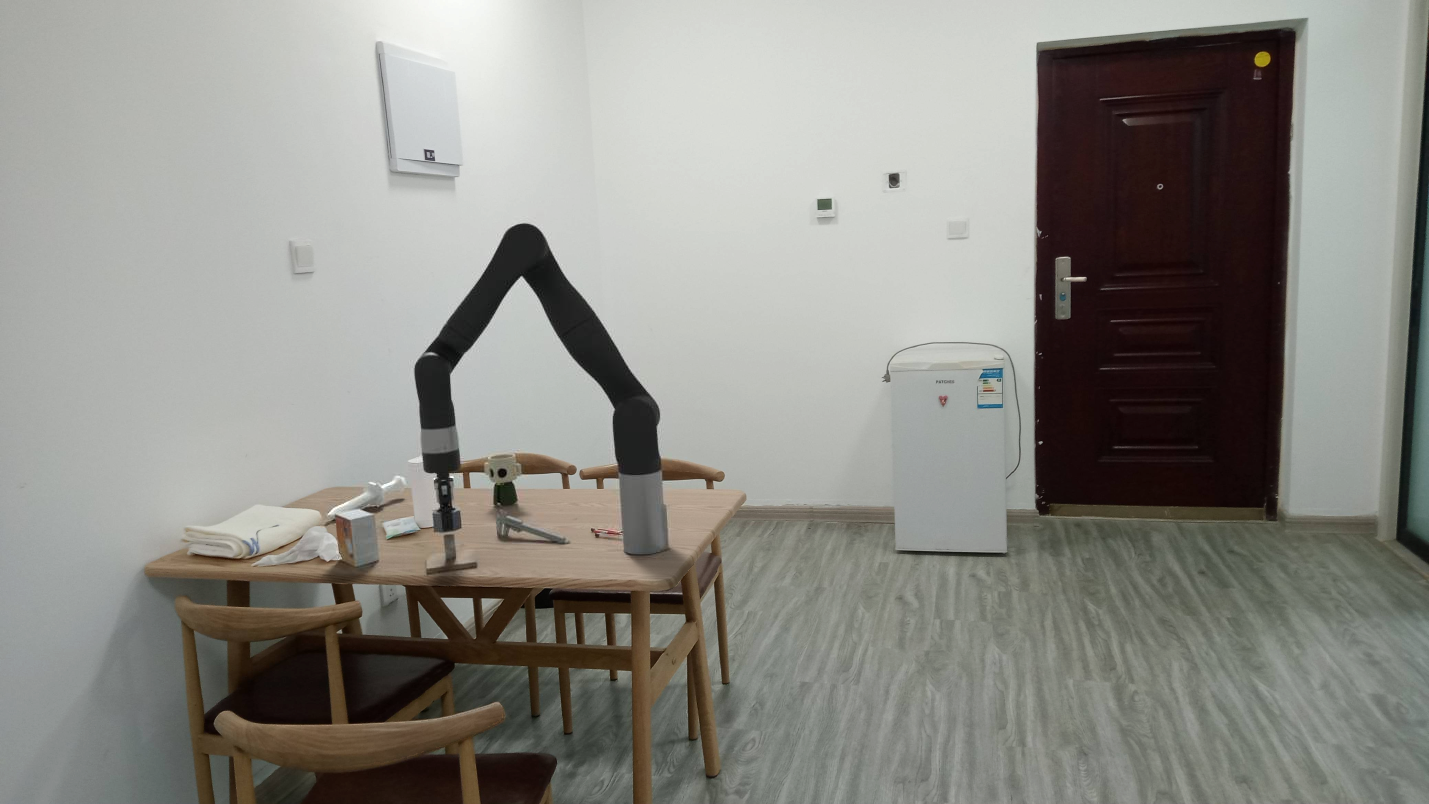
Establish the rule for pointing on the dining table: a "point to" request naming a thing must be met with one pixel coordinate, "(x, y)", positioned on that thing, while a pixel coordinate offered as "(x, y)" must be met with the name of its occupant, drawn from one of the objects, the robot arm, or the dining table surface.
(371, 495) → the dagger
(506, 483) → the character mug
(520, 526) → the caliper
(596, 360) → the robot arm
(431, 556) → the inverted t stand
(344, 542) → the small box
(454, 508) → the collar ring
